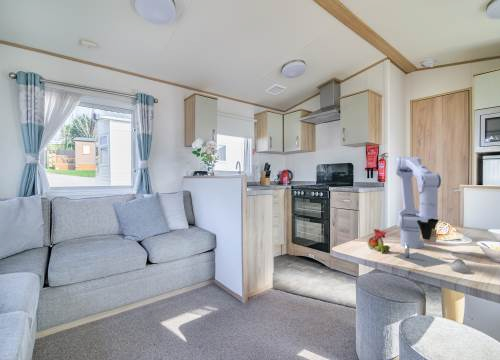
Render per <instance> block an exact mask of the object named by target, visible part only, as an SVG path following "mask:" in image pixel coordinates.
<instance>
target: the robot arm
mask: <svg viewBox="0 0 500 360" xmlns="http://www.w3.org/2000/svg"><path fill="white" fill-rule="evenodd" d="M394 171H395V176H396V175H397V176H398V177H399V180H400V191H401V199H402V200H401V201H402V209H401V210H399V211H397V214H396V225H397V227H398V228H399V229H400V247H403V248H405V244H409V249H419V248H425V246H424V245H425V241H422V240H420V229H421V233H422V237H423V239H427V240H430V237H431V232H432V229H435V230H436V226H437V224H438V223H439V220H440V219H438V218H439V215H438V200H439V199H438V198H439V197H438V192H439V188H440V187H441V185H442V178H441V175H440V174H439V172H435V173H434V172H432V171H431V170H430V169H429V168H428V167H427V166H426V165H424V164H423V165H422V159H421V157H420V156H397V157H396V158H395V162H394ZM413 177H414V178H415V179H416V180H417V181H416V182H417V183H416V184H417V189H418V192H419V209H418V210H417V208H416V204H415V198H414V189H413V180H412V178H413Z"/></svg>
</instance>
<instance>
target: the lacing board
mask: <svg viewBox="0 0 500 360" xmlns="http://www.w3.org/2000/svg"><path fill="white" fill-rule="evenodd" d="M393 257H395V258H398V259H400V260H403V261H405V262H408V263H411V264H414V265H416V266H420V267H422V268H427V267H428V268H429V267H433V266H440V265H445V264H450V261H446V260H442V259H439V258H436V257H433V256H429V255H427V254H423V253H419V252H411V253H410V252H409V258H405V253H403V254H396V255H393Z"/></svg>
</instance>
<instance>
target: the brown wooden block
mask: <svg viewBox="0 0 500 360" xmlns="http://www.w3.org/2000/svg"><path fill="white" fill-rule="evenodd" d="M420 240H422V241H424V242H425V243H426V242H427V243H436V242H437V229H436V228H435V229H432V232H431V237H430V240H427V239H423V237H422V233H421V229H420Z"/></svg>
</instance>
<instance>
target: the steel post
mask: <svg viewBox="0 0 500 360" xmlns="http://www.w3.org/2000/svg"><path fill="white" fill-rule="evenodd" d="M404 254H405V258H409V254H410V248H409V244H405V247H404Z"/></svg>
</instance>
